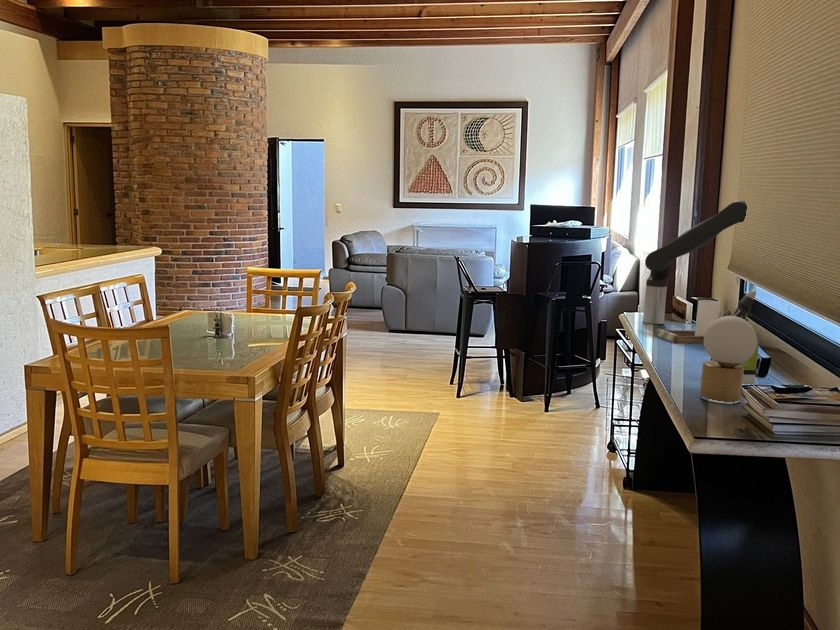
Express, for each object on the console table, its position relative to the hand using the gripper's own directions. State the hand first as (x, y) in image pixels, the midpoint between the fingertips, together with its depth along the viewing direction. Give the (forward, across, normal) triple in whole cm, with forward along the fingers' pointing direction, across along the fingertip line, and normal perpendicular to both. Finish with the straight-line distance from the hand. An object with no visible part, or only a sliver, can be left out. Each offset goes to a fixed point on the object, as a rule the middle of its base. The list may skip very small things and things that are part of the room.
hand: (722, 330), depth 331 cm
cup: (+8, 0, -3) cm, 9 cm away
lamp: (+43, +94, -37) cm, 110 cm away
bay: (+12, 0, -7) cm, 14 cm away
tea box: (+30, +69, -25) cm, 79 cm away
